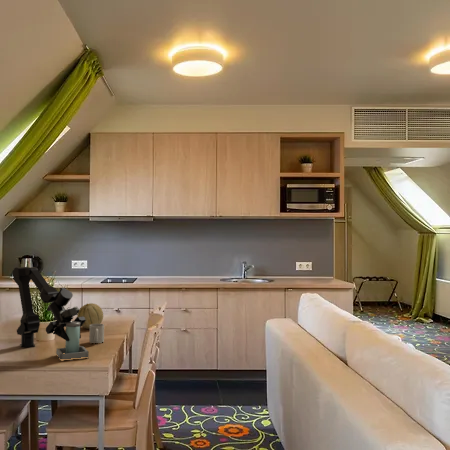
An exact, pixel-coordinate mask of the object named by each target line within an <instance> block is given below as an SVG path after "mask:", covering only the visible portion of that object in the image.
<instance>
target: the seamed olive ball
mask: <svg viewBox="0 0 450 450" xmlns="http://www.w3.org/2000/svg"><path fill="white" fill-rule="evenodd" d="M78 309H79V313H78V314H77V315H76V317H81V316H84V317H85V319H86V321H85V322H84V324H83V325H82V326H81V328H84V329H87V330H90V325H91V324H102V322H103V320H104V319H103V318H104V311H103V309H102V307H101V306H100V305H98V304H96V303H92V302H89V303H86V304H84V305H82V306H81V307H80V308H78Z"/></svg>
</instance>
